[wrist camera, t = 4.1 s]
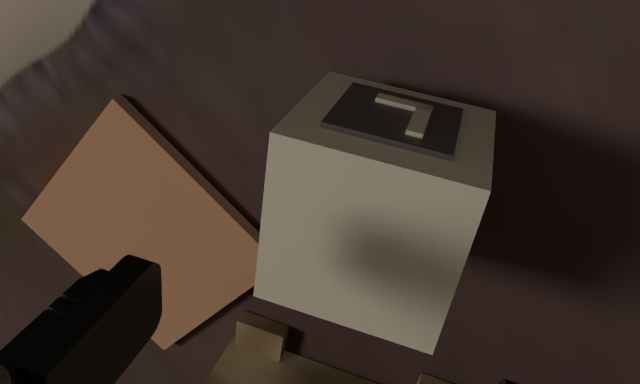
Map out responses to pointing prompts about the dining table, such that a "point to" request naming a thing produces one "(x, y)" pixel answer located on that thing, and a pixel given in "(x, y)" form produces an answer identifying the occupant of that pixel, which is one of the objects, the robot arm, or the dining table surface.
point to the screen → (276, 359)
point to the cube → (373, 207)
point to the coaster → (147, 219)
